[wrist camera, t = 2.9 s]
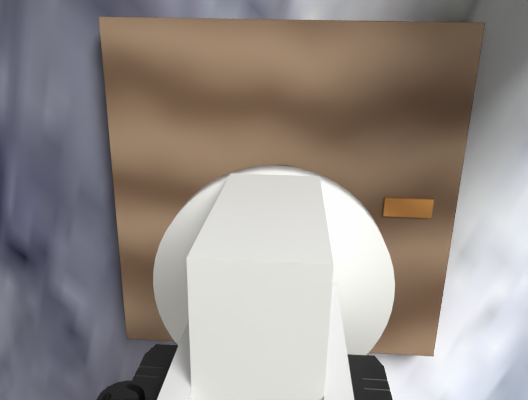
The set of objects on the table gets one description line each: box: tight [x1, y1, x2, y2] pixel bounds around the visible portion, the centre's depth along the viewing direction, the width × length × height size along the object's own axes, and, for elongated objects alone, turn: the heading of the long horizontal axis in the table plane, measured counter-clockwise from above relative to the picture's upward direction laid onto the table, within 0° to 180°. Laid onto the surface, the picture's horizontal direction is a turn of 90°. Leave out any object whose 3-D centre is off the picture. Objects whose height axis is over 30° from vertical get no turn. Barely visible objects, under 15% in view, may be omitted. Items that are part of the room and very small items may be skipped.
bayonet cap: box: [153, 165, 395, 400], centre depth 17 cm, size 12×10×9 cm
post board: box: [99, 17, 485, 356], centre depth 27 cm, size 22×22×12 cm
